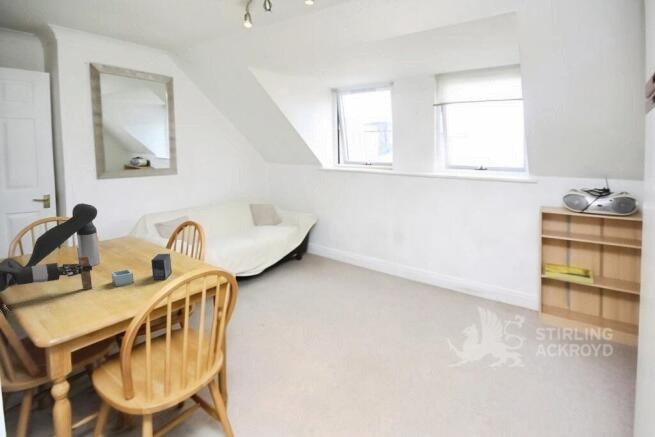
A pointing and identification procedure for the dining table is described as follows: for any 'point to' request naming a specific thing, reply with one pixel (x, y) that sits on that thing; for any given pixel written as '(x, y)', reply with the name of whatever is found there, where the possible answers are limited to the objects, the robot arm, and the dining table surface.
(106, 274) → the dining table surface
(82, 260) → the tall wooden pillar
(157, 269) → the small box
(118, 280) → the pale blue storage bin
